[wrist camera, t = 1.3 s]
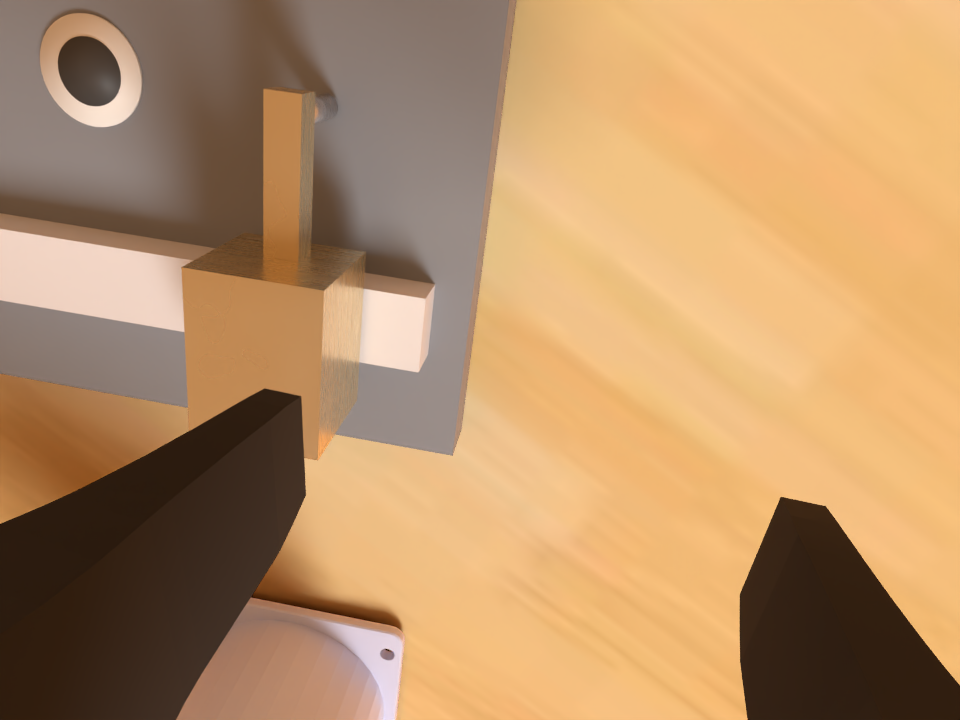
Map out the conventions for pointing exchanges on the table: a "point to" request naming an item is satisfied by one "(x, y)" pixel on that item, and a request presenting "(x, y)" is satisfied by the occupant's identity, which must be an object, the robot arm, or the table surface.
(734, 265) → the table surface
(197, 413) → the sliding trammel head
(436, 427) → the plate
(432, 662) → the table surface
